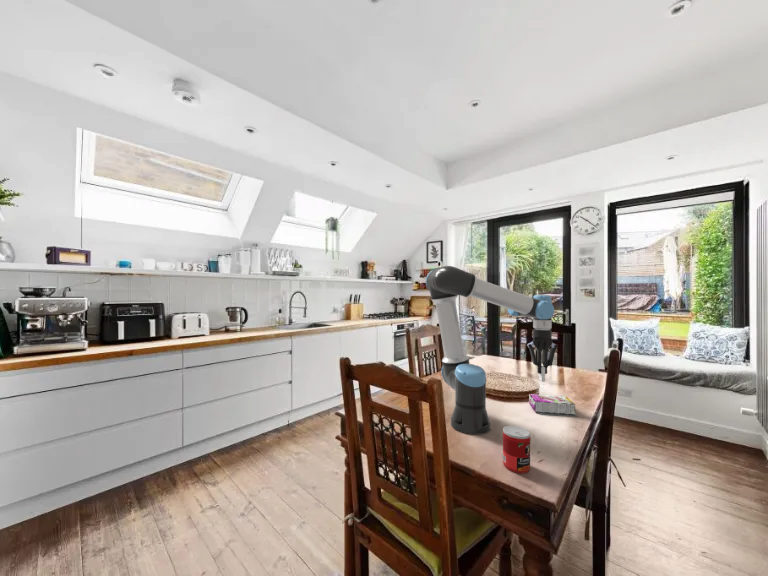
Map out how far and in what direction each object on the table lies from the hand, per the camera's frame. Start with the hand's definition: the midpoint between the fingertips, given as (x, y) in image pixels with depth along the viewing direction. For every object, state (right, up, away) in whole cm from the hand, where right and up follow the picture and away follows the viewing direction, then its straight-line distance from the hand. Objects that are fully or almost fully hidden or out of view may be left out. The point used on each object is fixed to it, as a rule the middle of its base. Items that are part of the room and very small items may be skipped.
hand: (542, 380), depth 146 cm
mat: (+4, -13, -1) cm, 14 cm away
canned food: (-31, -13, -47) cm, 58 cm away
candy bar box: (-5, -10, +1) cm, 11 cm away
